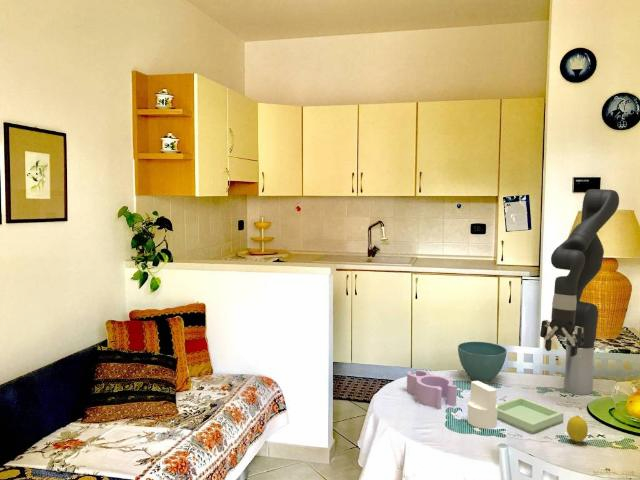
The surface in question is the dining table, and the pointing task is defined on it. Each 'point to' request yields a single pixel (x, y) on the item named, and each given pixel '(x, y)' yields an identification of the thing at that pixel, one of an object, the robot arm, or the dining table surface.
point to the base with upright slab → (482, 406)
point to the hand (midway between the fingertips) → (560, 353)
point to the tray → (528, 415)
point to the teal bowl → (481, 360)
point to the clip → (431, 388)
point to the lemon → (577, 428)
